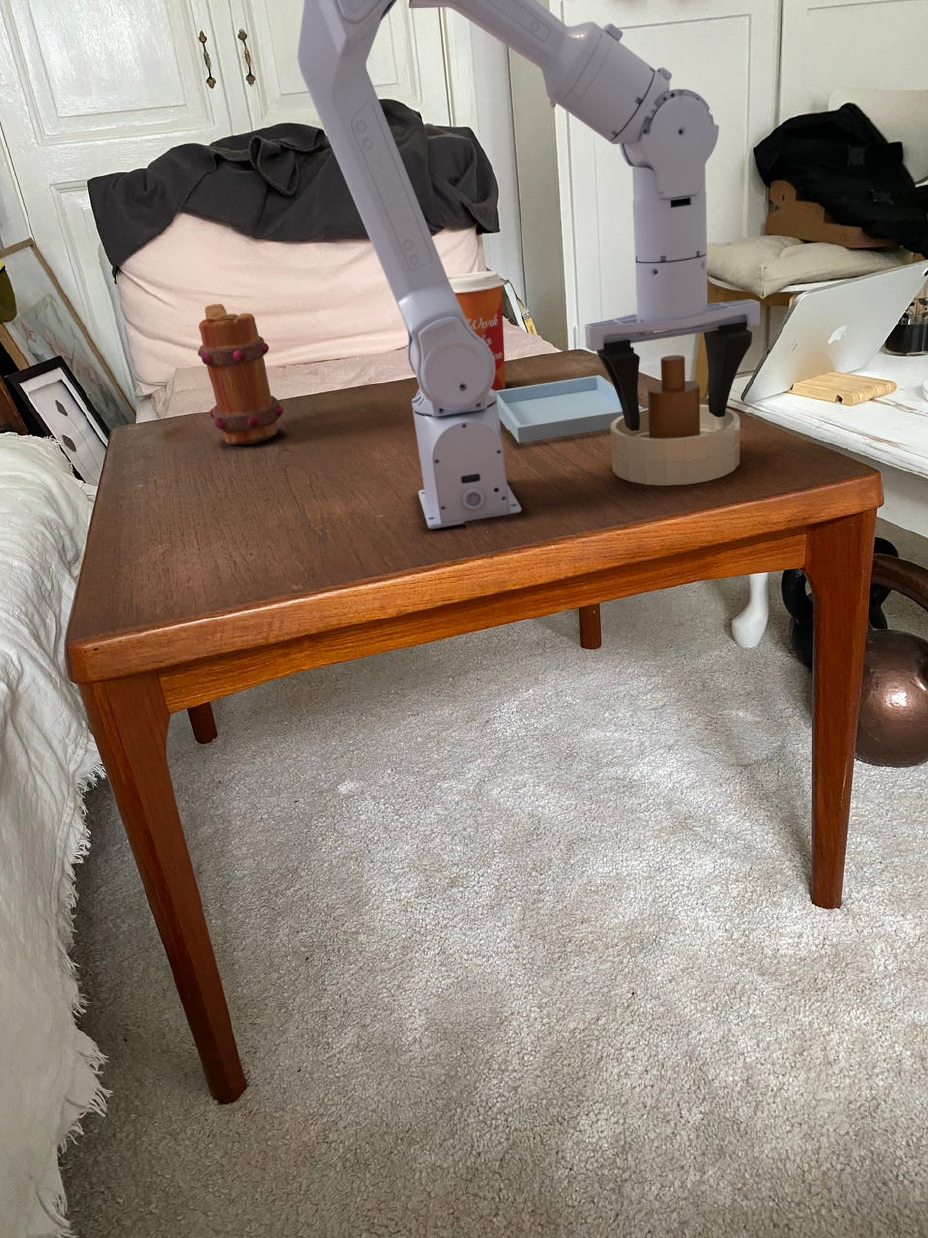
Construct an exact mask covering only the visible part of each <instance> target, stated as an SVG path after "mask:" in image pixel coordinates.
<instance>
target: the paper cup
mask: <svg viewBox="0 0 928 1238" xmlns="http://www.w3.org/2000/svg"><path fill="white" fill-rule="evenodd" d="M447 278H448V280H449V283H450V285H451V287H452V289H453V291H454V293H455V295H456V297H457V300H458V302H459V304H460V306H461V308H462V310H463V313H464V316H465V318H466V320H467V323H468V324H469V325H470V326H471V327H472V329H473V330H474V331H475V333H476V334H477V335H478V336H479V337H480V338H481V339H482V340H484V341H485V343H486V344H487V345H488V346H489V348H490V350H491V351H492V354H493V357H494V360H495V369H496V372H495V379H494V382H493V385H492V387H491V389H493V390H495V391H498V390H505V389H506V363H505V340H504V339H505V338H504V337H505V336H504V317H503V294H502V292H503V291H502V286H504V285H505V284H506V282H504V281H503V280H501V279H502V276H501V275H499V272H498V271H494V270H491V271H490V270H487V271H474V272H467V273H460V274H456V275H451V276H449V277H447Z"/></svg>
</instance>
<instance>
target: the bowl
mask: <svg viewBox="0 0 928 1238" xmlns="http://www.w3.org/2000/svg"><path fill="white" fill-rule="evenodd" d="M639 414H640V429H639V430H636V431H631V430H630V429H628V428H627V427H626V426H625V421H624V416H621V417H618V418H617V419H616V420H615V421H613V422H612V423H611V429H610V445H611V446H610V447H611V462H612V463H611V465H612V466H611V467H612V472H613V473H614V475H615V476H617V477H618V478H620V479H622V480H625V481H627V482H630V483H635V484H641V485H646V486H663V487H664V486H665V487H666V486H667V487H668V486H683V485H684V486H685V485H693V484H699V483H705V482H709V481H712V480H713V481H714V480H716V479H719V478H723V477H725V476H727V475H728V474H730V473H732V472H734V471H735V470H736V469H737V467H738V466H739V465H740V453H741V452H740V447H741V446H740V445H741V444H740V443H741V442H740V441H741V436H740V435H741V419H740V415H739V414H738V413H737V412H735V411H733V410H732V409H730V408H726V412H725V416H724V417H716V416H714V415H713V414H711V413H710V412H709V406H708V404H701V403H700V435H696V436H690V437H681V438H649V419H648V407H647V408H643V409H642V410H639Z"/></svg>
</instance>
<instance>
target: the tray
mask: <svg viewBox="0 0 928 1238" xmlns="http://www.w3.org/2000/svg"><path fill="white" fill-rule="evenodd" d="M496 393H497V401H498V410H499V420H500V422H501V423H502V424H503V426H504V427H505V428H506V430H507V431H510V433H511V434H512V436H513V437H514V438H515V440H516V441H517V443H518V444H522V443H523V444H524V443H529V442H536V441H542V440H549V439H555V438H560V437H568V436H575V435H580V434H586V433H593V432H600V431H605V430H611V423H612V422H613V421H615V420H616V419H617V418H618V417H621V416H623V412H622V408H621V405H620V401H619V398H618V395H617V393H616V390H615V388H614V385H613V383H612V382H611V383H610V381H608V380H607V379H605V377H603V376H602V375H600V374H598V375H590V376H585V377H578V378H571V379H565V380H559V381H552V382H546V383H537V384H532V385H526V386H519V387H512V388H505V389H503V390H498V391H496ZM642 409H644V407H643V406H641V405H640V404H639V410H642Z"/></svg>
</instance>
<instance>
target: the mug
mask: <svg viewBox="0 0 928 1238" xmlns="http://www.w3.org/2000/svg"><path fill="white" fill-rule="evenodd" d="M204 313H205V319H203V320H201V322H199V324H198V330H199V332H200V337H201V343H202V344H201V345H200V346H199V349H198V351H197V355H198V357H200V358H201V362H202V364H204V365H206V369H207V373H208V376H209V380H210V382H211V386H212V390H213V395H214V400H215V403H216V405H215V406H214V407H213V408H210V410H209V417H211V418H212V419H213V420H214V426H215V427H216V428H217V429H218V430H220V431H222V434H223V435H222V436H223V438H224V441H225V443H227V444H229V445H234V446H243V445H246V446H247V445H251V444H252V445H253V444H256V443H261V442H265V441H266V440H269V439H270V438H272V437H274V436H275V435H276V434H277V432H278V425H277V422H278V420H279V419H280V418H281V416H282V415H283V413H284V408H283V406H281V405H280V403H279V400H278V398H276V397H275V396H274V395H272V394H271V389H270V384H269V380H268V379H269V378H268V374H267V368H266V362H265V358H264V356H265V355H266V354H267V353H268V352H269V350H270V346H269V344H268V343H266V342H265V339H264V338H263V336H260V335H259V331H258V328H257V327H258V326H257V324H256V319H255V316H254V315H253V314H252V313H249V312H242V313H239V314H237V313H227V310H226V308H225V306H224V305H223V303H217V304H210V305H206V306H205V307H204Z"/></svg>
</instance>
